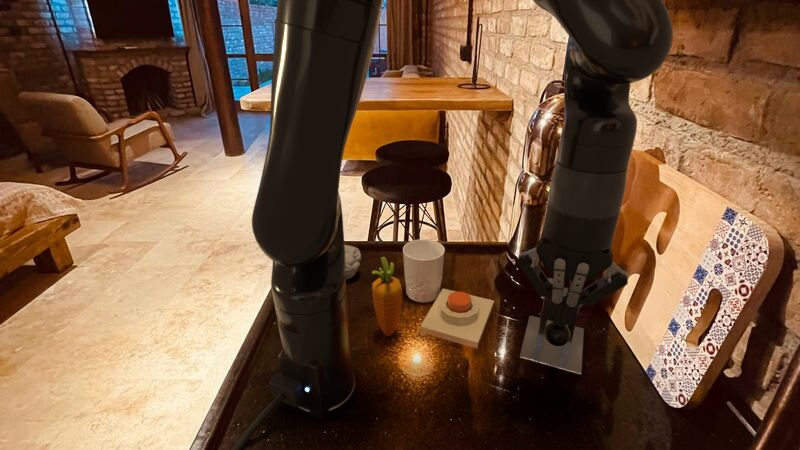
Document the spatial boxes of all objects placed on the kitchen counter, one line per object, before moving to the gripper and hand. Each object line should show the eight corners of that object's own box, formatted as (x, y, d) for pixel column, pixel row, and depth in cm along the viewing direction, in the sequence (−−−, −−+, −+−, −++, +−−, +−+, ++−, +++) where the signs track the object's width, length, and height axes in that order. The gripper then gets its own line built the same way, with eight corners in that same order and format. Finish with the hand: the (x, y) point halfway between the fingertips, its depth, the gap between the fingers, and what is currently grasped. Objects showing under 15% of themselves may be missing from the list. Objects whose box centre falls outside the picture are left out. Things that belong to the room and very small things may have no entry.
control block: (477, 352, 66) (479, 333, 64) (419, 336, 70) (420, 317, 68) (493, 309, 76) (495, 292, 74) (442, 297, 80) (442, 280, 78)
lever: (567, 354, 53) (571, 333, 51) (541, 347, 54) (545, 326, 53) (571, 305, 64) (575, 287, 62) (550, 300, 65) (553, 282, 64)
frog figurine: (368, 274, 87) (366, 245, 84) (345, 289, 82) (343, 260, 79) (347, 265, 91) (345, 237, 88) (324, 279, 86) (321, 251, 83)
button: (467, 316, 69) (467, 307, 68) (444, 310, 70) (445, 302, 70) (473, 302, 72) (473, 294, 71) (451, 297, 74) (452, 289, 73)
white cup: (431, 309, 76) (432, 264, 72) (395, 296, 80) (394, 252, 75) (449, 288, 82) (451, 245, 78) (415, 277, 86) (415, 235, 81)
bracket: (580, 380, 61) (595, 317, 56) (518, 362, 64) (528, 301, 59) (582, 333, 70) (596, 276, 64) (528, 320, 73) (537, 264, 68)
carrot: (399, 347, 67) (398, 271, 61) (370, 344, 68) (366, 268, 62) (405, 328, 72) (404, 254, 65) (378, 324, 73) (374, 252, 66)
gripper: (517, 205, 45) (502, 328, 53) (654, 225, 40) (616, 357, 48) (527, 183, 51) (513, 296, 59) (647, 198, 46) (614, 318, 54)
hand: (559, 323), depth 53 cm, fingers closed
